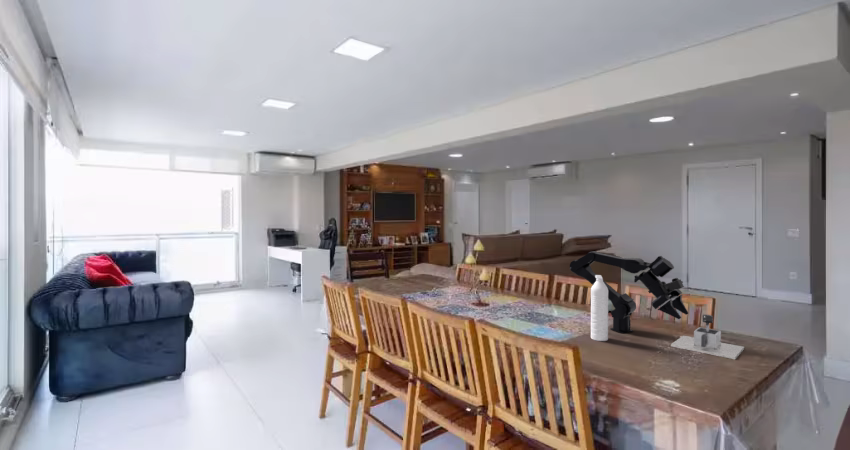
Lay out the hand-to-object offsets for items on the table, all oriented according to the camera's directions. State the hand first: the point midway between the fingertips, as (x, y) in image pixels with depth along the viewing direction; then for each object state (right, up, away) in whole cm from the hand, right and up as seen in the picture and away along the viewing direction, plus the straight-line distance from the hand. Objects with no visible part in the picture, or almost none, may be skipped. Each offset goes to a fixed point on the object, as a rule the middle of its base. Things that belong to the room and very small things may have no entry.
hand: (683, 316), depth 165 cm
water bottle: (-30, -11, +8) cm, 32 cm away
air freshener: (-7, -8, +53) cm, 54 cm away
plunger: (+5, -9, -5) cm, 12 cm away
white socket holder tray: (+6, -11, -5) cm, 13 cm away
